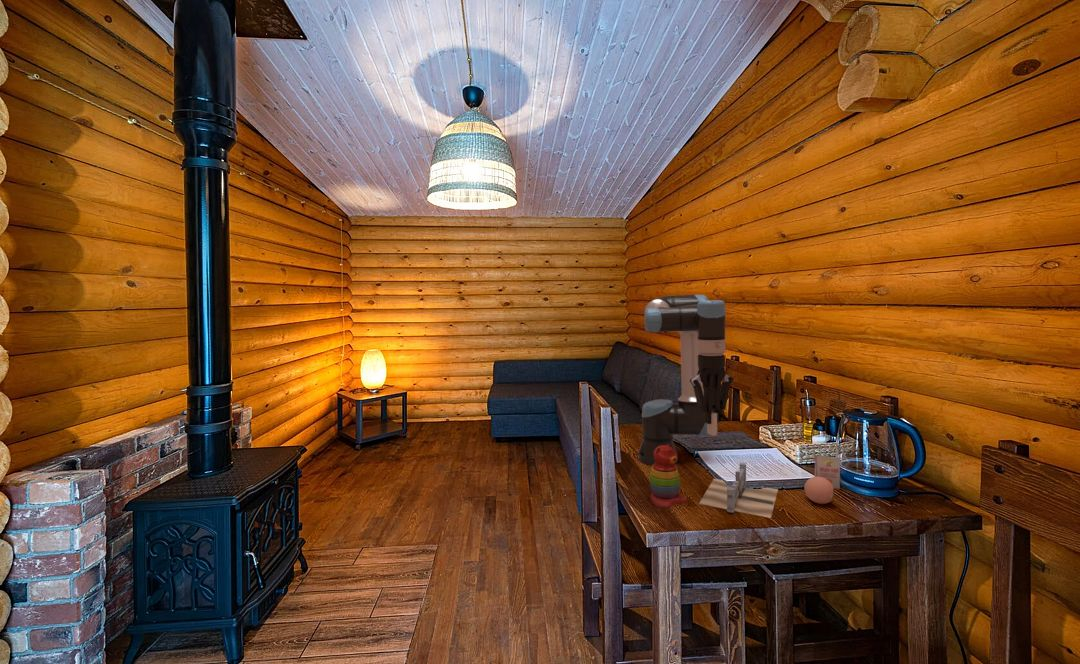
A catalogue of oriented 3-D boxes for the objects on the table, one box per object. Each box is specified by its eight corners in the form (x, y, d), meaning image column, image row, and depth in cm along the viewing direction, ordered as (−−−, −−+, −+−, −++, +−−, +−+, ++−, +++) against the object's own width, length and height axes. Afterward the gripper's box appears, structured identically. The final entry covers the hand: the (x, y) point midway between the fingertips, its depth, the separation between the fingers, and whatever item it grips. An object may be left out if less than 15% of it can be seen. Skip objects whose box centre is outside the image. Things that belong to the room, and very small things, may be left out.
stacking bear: (663, 511, 140) (663, 453, 139) (642, 498, 149) (640, 444, 148) (690, 502, 145) (689, 447, 144) (667, 491, 154) (666, 438, 153)
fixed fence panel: (740, 483, 157) (740, 459, 157) (746, 483, 156) (746, 460, 156) (734, 496, 147) (734, 472, 146) (740, 497, 146) (740, 473, 145)
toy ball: (840, 506, 139) (840, 481, 138) (818, 510, 138) (818, 484, 137) (819, 495, 147) (819, 471, 146) (798, 498, 145) (798, 474, 145)
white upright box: (814, 482, 157) (814, 453, 156) (838, 485, 154) (838, 456, 153) (815, 486, 154) (815, 457, 153) (839, 489, 151) (840, 459, 150)
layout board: (713, 480, 162) (713, 478, 162) (778, 491, 151) (778, 489, 151) (698, 505, 143) (698, 503, 143) (770, 519, 133) (770, 517, 133)
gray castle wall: (733, 496, 146) (733, 475, 146) (739, 497, 145) (739, 476, 145) (726, 511, 136) (726, 489, 136) (733, 512, 135) (733, 490, 135)
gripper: (698, 356, 128) (699, 440, 130) (739, 353, 131) (740, 435, 133) (684, 353, 136) (685, 432, 137) (723, 351, 139) (724, 428, 140)
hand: (712, 434), depth 135 cm, fingers closed
